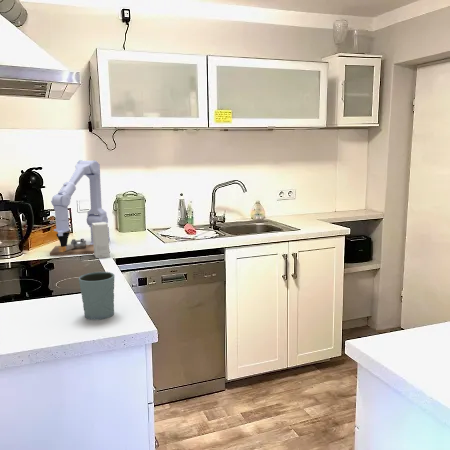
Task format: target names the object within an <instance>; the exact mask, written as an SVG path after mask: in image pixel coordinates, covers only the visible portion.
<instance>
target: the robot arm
mask: <svg viewBox="0 0 450 450" xmlns="http://www.w3.org/2000/svg"><path fill="white" fill-rule="evenodd" d="M74 167H75V170H74V171H73V173H72V176H71V177H70V179H69V180H68V181H66V182H64V183H62V187H61V189H60V190H59V191H58V193H57V194H56V193H55V194H54V195H53V196H52V198H51V201H50V202H51V205H52V206H53V210H54V216H55V228H54V229H53V231H54V232H56V233H55V234H56V237H57V239H58V241H59V244H60V246H66V245H68V239H69V236H70V231H71V230H70V222H69V208H68V207H69V206H70V204H71V200H72V196H73V195H74V193H75V191H76V190H77V187H76V185H77V184H78V183H79V182H80V180H81V179H82V178H83V177H84V176H86V177H87V178H88V179H89V194H90V195H89V197H90V209H89V211H87V215H86V224H87V225H88V228H90V240H91V241H90V243H89V245H94V244H93V231H92V223H98V222H106V223H107V224H108V223H109V218H108V215H107V214H108V213H107V211H106V210H104V209H103V207H102V190H101V189H102V188H101V166H100V163H99V161H97V160H95V159H94V160H83V159H82V160H81V159H80V160H78V161H77V162H76V164H75V166H74ZM109 227H110V226H108V237H109V243H110V242H111V241H110V240H111V237H110V228H109Z"/></svg>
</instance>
